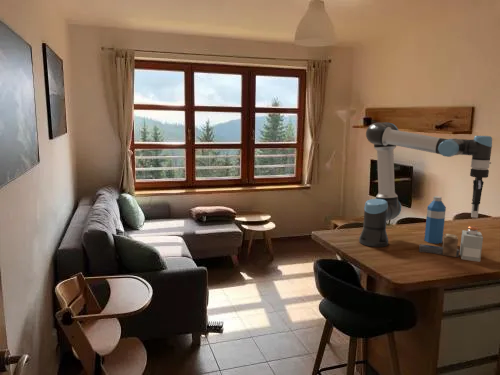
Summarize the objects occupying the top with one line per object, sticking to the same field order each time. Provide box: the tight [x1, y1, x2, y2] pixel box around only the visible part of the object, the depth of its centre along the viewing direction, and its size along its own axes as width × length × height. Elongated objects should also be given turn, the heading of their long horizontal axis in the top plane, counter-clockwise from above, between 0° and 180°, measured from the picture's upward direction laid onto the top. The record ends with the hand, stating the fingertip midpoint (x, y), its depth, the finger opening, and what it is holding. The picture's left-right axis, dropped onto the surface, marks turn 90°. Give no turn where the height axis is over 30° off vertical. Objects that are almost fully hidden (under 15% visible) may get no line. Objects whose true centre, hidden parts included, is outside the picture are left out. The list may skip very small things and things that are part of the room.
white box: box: [459, 229, 484, 262], centre depth 196 cm, size 8×10×12 cm
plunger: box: [467, 225, 479, 236], centre depth 195 cm, size 4×4×6 cm
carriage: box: [442, 233, 459, 258], centre depth 200 cm, size 6×7×10 cm
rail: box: [418, 243, 460, 258], centre depth 202 cm, size 18×5×3 cm, turn 67°
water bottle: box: [423, 195, 447, 245], centre depth 220 cm, size 9×9×25 cm
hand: (474, 217), depth 193 cm, fingers closed
